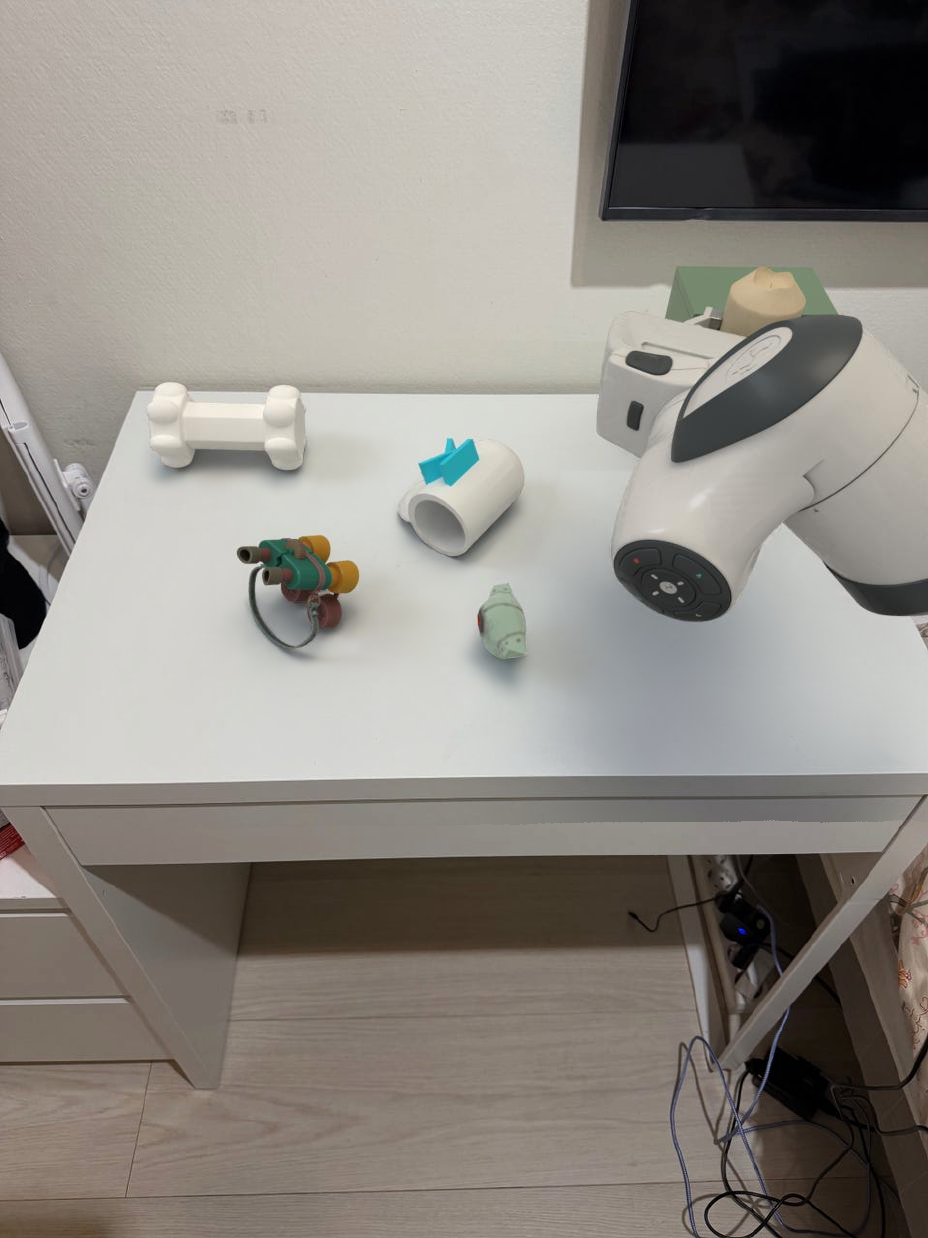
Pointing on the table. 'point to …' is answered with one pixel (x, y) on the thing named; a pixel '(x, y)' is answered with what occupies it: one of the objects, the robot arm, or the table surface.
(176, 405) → the dog bone
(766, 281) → the candle
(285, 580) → the binoculars
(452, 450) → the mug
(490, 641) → the robot head
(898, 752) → the table surface
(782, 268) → the cabinet
